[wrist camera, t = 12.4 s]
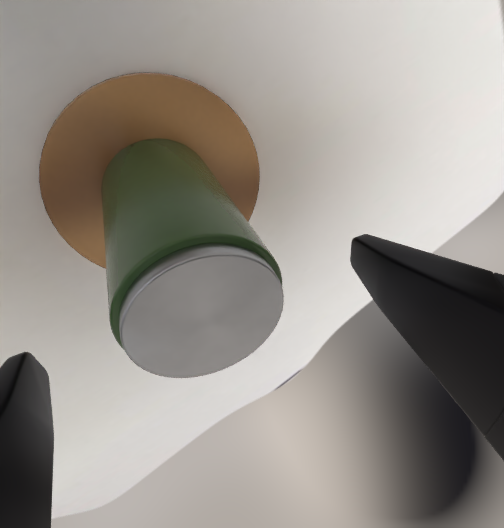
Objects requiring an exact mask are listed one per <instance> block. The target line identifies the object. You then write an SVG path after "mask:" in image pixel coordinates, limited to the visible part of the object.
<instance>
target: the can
mask: <svg viewBox="0 0 504 528" xmlns="http://www.w3.org/2000/svg"><path fill="white" fill-rule="evenodd" d="M101 195H102V210H103V225H104V241H105V256H106V271H107V286H108V301H109V317H110V325H111V329H112V333H113V335H114V337H115V339H116V340H117V342H118V343H119V344H120V346H121V347H122V348H123V349H124V350H125V352H126V353H127V355H128V356H129V358H130V359H131V360H132V361H133V362H134V363H135V364H136V365H138V366H139V367H141V368H142V369H144V370H146V371H148V372H150V373H153V374H156V375H159V376H165V377H172V378H189V377H197V376H203V375H207V374H211V373H214V372H217V371H220V370H223V369H225V368H227V367H229V366H232V365H234V364H235V363H237V362H239V361H241V360H242V359H244V358H246V357H247V356H248V355H250V354H251V353H252V352H254V351H255V350H256V349H257V348H258V347H259V346H261V345H262V344H263V342H264V341H265V340H266V339H267V338H268V337H269V336H270V334H271V333H272V332H273V330H274V328H275V327H276V325H277V323H278V321H279V318H280V316H281V313H282V309H283V290H282V277H281V272H280V269H279V266H278V264H277V262H276V261H275V259H274V257H273V256H272V255H271V253H270V252H269V250H268V249H267V248H266V246H265V245H264V244H263V242H262V241H261V239H260V238H259V237H258V235H257V234H256V233H255V231H254V230H253V228H252V227H251V226H250V224H249V223H248V222H247V220H246V219H245V217H244V216H243V215H242V213H241V212H240V211H239V209H238V208H237V206H236V205H235V204H234V202H233V201H232V199H231V198H230V197H229V195H228V194H227V193H226V191H225V190H224V188H223V187H222V186H221V184H220V183H219V182H218V180H217V179H216V177H215V176H214V175H213V173H212V172H211V171H210V169H209V168H208V166H207V165H206V164H205V162H204V161H203V160H202V159H201V157H200V156H199V155H198V154H197V153H196V152H195V151H193V150H192V149H190V148H189V147H187V146H186V145H184V144H182V143H179V142H176V141H173V140H169V139H161V138H154V139H146V140H141V141H138V142H135V143H133V144H131V145H129V146H127V147H125V148H124V149H122V150H121V151H120V152H119V153H118V154H116V155H115V156H114V158H113V159H112V160H111V161H110V163H109V164H108V166H107V168H106V170H105V172H104V175H103V179H102V185H101Z"/></svg>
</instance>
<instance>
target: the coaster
mask: <svg viewBox="0 0 504 528" xmlns="http://www.w3.org/2000/svg"><path fill="white" fill-rule="evenodd" d="M154 138H161V139H169V140H173V141H176V142H179V143H182V144H184V145H186V146H187V147H189V148H190V149H192V150H193V151H195V152H196V153H197V154H198V155H199V156H200V157H201V159H202V160H203V161H204V162H205V164H206V165H207V166H208V168H209V169H210V171H211V172H212V173H213V175H214V176H215V177H216V179H217V180H218V182H219V183H220V184H221V186H222V187H223V188H224V190H225V191H226V193H227V194H228V195H229V197H230V198H231V199H232V201H233V202H234V204H235V205H236V206H237V208H238V209H239V211H240V212H241V213H242V215H243V216H244V217H245V219H246V220H247V222H248V221H249V219H250V217H251V214H252V212H253V209H254V206H255V203H256V200H257V195H258V190H259V178H260V176H259V163H258V158H257V153H256V150H255V146H254V143H253V141H252V138H251V136H250V134H249V132H248V130H247V128H246V127H245V125H244V124H243V122H242V121H241V119H240V118H239V116H238V115H237V114H236V113H235V112H234V111H233V110H232V109H231V107H230V106H229V105H227V104H226V103H225V102H224V101H223V100H222V99H220V98H219V97H218V96H217V95H215V94H214V93H212V92H211V91H209V90H207V89H206V88H204V87H203V86H200V85H198V84H196V83H194V82H192V81H190V80H187V79H183V78H180V77H177V76H174V75H167V74H161V73H134V74H126V75H121V76H118V77H114V78H111V79H107V80H105V81H103V82H101V83H99V84H96V85H94V86H92V87H90V88H89V89H87V90H86V91H84V92H83V93H81V94H80V95H78V96H77V97H76V98H75V99H74V100H73V101H72V102H71V103H70V104H68V105H67V106H66V107H65V108H64V110H63V111H62V112H61V114H60V115H59V116H58V118H57V119H56V120H55V122H54V124H53V126H52V127H51V129H50V131H49V133H48V135H47V138H46V141H45V144H44V147H43V150H42V154H41V160H40V166H39V183H40V189H41V195H42V199H43V202H44V205H45V208H46V211H47V213H48V215H49V217H50V219H51V221H52V223H53V225H54V226H55V228H56V229H57V231H58V232H59V233H60V235H61V236H62V237H63V238H64V239H65V240H66V242H67V243H68V244H69V245H70V246H71V247H72V248H74V249H75V250H76V251H77V252H78V253H79V254H81V255H82V256H84V257H85V258H87V259H88V260H90V261H91V262H93V263H95V264H97V265H99V266H101V267H103V268H106V256H105V241H104V225H103V210H102V195H101V185H102V179H103V175H104V172H105V170H106V168H107V166H108V164H109V163H110V161H111V160H112V159H113V158H114V156H115V155H116V154H118V153H119V152H120V151H121V150H122V149H124V148H125V147H127V146H129V145H131V144H133V143H135V142H138V141H141V140H146V139H154Z"/></svg>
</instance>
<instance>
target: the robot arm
mask: <svg viewBox="0 0 504 528" xmlns="http://www.w3.org/2000/svg"><path fill="white" fill-rule="evenodd" d="M350 261H351V265H352V267H353V269H354V270H355V272H356V273H357V275H358V276H359V278H360V280H361V281H362V283H363V284H364V286H365V287H366V289H367V290H368V292H369V294H370V295H371V297H372V298H373V300H374V301H375V303H376V304H377V305H378V307H379V308H380V309H381V311H382V312H383V313H384V314H385V316H386V317H387V318H388V319H389V320H390V322H391V323H392V324H393V325H394V327H395V328H396V329H397V330H398V331H399V333H400V334H401V335H402V336H403V338H404V339H405V340H406V341H407V343H408V344H409V345H410V346H411V347H412V349H413V350H414V351H415V352H416V353H417V355H418V356H419V357H420V358H421V360H422V361H423V362H424V363H425V364H426V366H427V367H428V368H429V369H430V371H431V372H432V373H433V374H434V375H435V377H436V378H437V379H438V380H439V382H440V383H441V384H442V385H443V387H444V388H445V389H446V390H447V391H448V393H449V394H450V395H451V396H452V398H453V399H454V400H455V401H456V403H457V404H458V405H459V406H460V407H461V409H462V410H463V411H464V412H465V413H466V415H467V416H468V417H469V418H470V420H471V421H472V422H473V423H474V425H476V427H477V428H478V429H479V431H480V432H481V433H482V434H483V435H484V436H485V438H486V439H487V441H488V442H489V443H490V444H491V446H492V447H493V448H494V449H495V451H496V452H497V453H498V454H499V455H500V457H501V458H502V459H503V460H504V275H502V274H498V273H493V272H491V271H488V270H485V269H482V268H478V267H474V266H472V265H468V264H465V263H461V262H458V261H455V260H451V259H448V258H445V257H441V256H438V255H435V254H431V253H428V252H425V251H421V250H418V249H415V248H411V247H408V246H405V245H401V244H398V243H395V242H391V241H388V240H385V239H381V238H378V237H375V236H371V235H368V234H364V235H361V236H358V237H355V238H354V239H353V240H352V245H351V257H350ZM53 452H54V430H53V418H52V407H51V396H50V385H49V377H48V374H47V371H46V370H45V369H44V367H43V366H42V365H41V364H40V363H39V362H38V361H37V360H36V359H35V357H34V356H33V355H32V354H31V353H29V352H23V353H20V354H17V355H15V356H12V357H10V358H8V359H7V360H6V361H5V363H4V364H3V365H2V367H1V368H0V528H51V507H52V480H53Z"/></svg>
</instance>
